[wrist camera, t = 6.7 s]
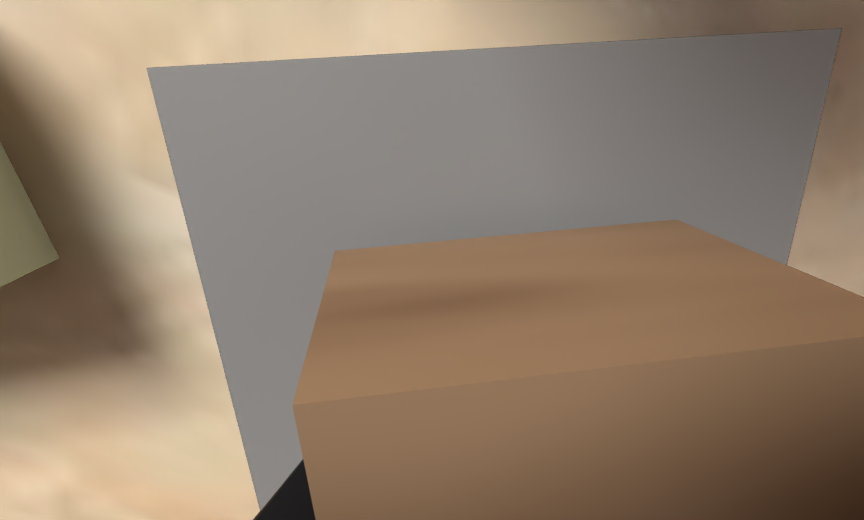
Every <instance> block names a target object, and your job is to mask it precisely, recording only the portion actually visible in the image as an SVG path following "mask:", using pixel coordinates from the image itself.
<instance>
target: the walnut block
mask: <svg viewBox="0 0 864 520" xmlns="http://www.w3.org/2000/svg"><path fill="white" fill-rule="evenodd" d="M292 406H293V411H294V416H295V421H296V426H297V431H298V436H299V441H300V445H301V450H302V455H303V460H304V465H305V470H306V475H307V480H308V485H309V490H310V495H311V500H312V505H313V509H314V514H315V519H316V520H864V297H862V296H859V295H857V294H854V293H852V292H850V291H847V290H845V289H842V288H840V287H838V286H835V285H833V284H830V283H828V282H826V281H823V280H821V279H818V278H816V277H814V276H811V275H809V274H806V273H804V272H802V271H799V270H797V269H794V268H792V267H789V266H787V265H785V264H782V263H780V262H777V261H775V260H773V259H770V258H768V257H765V256H763V255H761V254H758V253H756V252H753V251H751V250H749V249H746V248H744V247H741V246H739V245H737V244H734V243H732V242H729V241H727V240H725V239H722V238H720V237H717V236H715V235H713V234H710V233H708V232H705V231H703V230H701V229H698V228H696V227H693V226H691V225H689V224H686V223H684V222H681V221H679V220H677V219H676V220H665V221H654V222H643V223H633V224H622V225H611V226H600V227H589V228H578V229H567V230H556V231H545V232H534V233H523V234H512V235H501V236H491V237H480V238H469V239H458V240H447V241H436V242H425V243H414V244H403V245H392V246H381V247H370V248H359V249H349V250H338V251H335V252H334V256H333V260H332V263H331V267H330V271H329V274H328V278H327V281H326V285H325V289H324V292H323V296H322V299H321V303H320V307H319V310H318V314H317V318H316V321H315V325H314V328H313V332H312V336H311V339H310V343H309V346H308V350H307V354H306V357H305V361H304V365H303V368H302V372H301V375H300V379H299V383H298V386H297V390H296V393H295V397H294V401H293V404H292Z"/></svg>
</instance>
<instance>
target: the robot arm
mask: <svg viewBox="0 0 864 520" xmlns="http://www.w3.org/2000/svg"><path fill="white" fill-rule="evenodd" d="M253 520H316V519H315V514H314V509H313V505H312V500H311V495H310V490H309V485H308V480H307V475H306V470H305V465H304V460H303V459H302V460H301V462H300V463H299V464H298V465H297V467H296V468H295V469H294V470H293V471H292V473H291V474H290V475H289V476H288V478H287V479H286V480H285V481H284V482H283V484H282V485H281V486H280V487H279V489H278V490H277V491H276V492H275V493H274V495H273V496H272V497H271V498H270V500H269V501H268V502H267V503H266V504H265V506H264V507H263V508H262V509H261V511H260V512H259V513H258V514H257V515H256V517H255V518H254V519H253Z"/></svg>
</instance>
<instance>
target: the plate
mask: <svg viewBox="0 0 864 520" xmlns="http://www.w3.org/2000/svg"><path fill="white" fill-rule="evenodd" d="M841 30H842V28H834V29H817V30H799V31H782V32H764V33H747V34H729V35H712V36H694V37H677V38H660V39H642V40H625V41H607V42H590V43H572V44H555V45H537V46H520V47H502V48H485V49H467V50H450V51H433V52H415V53H398V54H380V55H363V56H345V57H328V58H310V59H293V60H275V61H258V62H240V63H223V64H206V65H188V66H171V67H153V68H147V72H148V76H149V80H150V83H151V87H152V91H153V95H154V99H155V103H156V107H157V111H158V115H159V119H160V122H161V126H162V130H163V134H164V138H165V142H166V146H167V150H168V154H169V157H170V161H171V165H172V169H173V173H174V177H175V181H176V185H177V189H178V192H179V196H180V200H181V204H182V208H183V212H184V216H185V220H186V224H187V228H188V231H189V235H190V239H191V243H192V247H193V251H194V255H195V259H196V263H197V266H198V270H199V274H200V278H201V282H202V286H203V290H204V294H205V298H206V301H207V305H208V309H209V313H210V317H211V321H212V325H213V329H214V333H215V337H216V340H217V344H218V348H219V352H220V356H221V360H222V364H223V368H224V372H225V375H226V379H227V383H228V387H229V391H230V395H231V399H232V403H233V407H234V410H235V414H236V418H237V422H238V426H239V430H240V434H241V438H242V442H243V446H244V449H245V453H246V457H247V461H248V465H249V469H250V473H251V477H252V481H253V484H254V488H255V492H256V496H257V500H258V504H259V508H260V511H261V509H262V508H263V507H264V506H265V504H266V503H267V502H268V501H269V500H270V498H271V497H272V496H273V495H274V493H275V492H276V491H277V490H278V489H279V487H280V486H281V485H282V484H283V482H284V481H285V480H286V479H287V478H288V476H289V475H290V474H291V473H292V471H293V470H294V469H295V468H296V467H297V465H298V464H299V463H300V462H301V460H302V459H303V455H302V450H301V445H300V441H299V436H298V431H297V426H296V421H295V416H294V411H293V406H292V404H293V401H294V397H295V393H296V390H297V386H298V383H299V379H300V375H301V372H302V368H303V365H304V361H305V357H306V354H307V350H308V346H309V343H310V339H311V336H312V332H313V328H314V325H315V321H316V318H317V314H318V310H319V307H320V303H321V299H322V296H323V292H324V289H325V285H326V281H327V278H328V274H329V271H330V267H331V263H332V260H333V256H334V252H335V251H338V250H349V249H359V248H370V247H381V246H392V245H403V244H414V243H425V242H436V241H447V240H458V239H469V238H480V237H491V236H501V235H512V234H523V233H534V232H545V231H556V230H567V229H578V228H589V227H600V226H611V225H622V224H633V223H643V222H654V221H665V220H676V219H677V220H679V221H681V222H684V223H686V224H689V225H691V226H693V227H696V228H698V229H701V230H703V231H705V232H708V233H710V234H713V235H715V236H717V237H720V238H722V239H725V240H727V241H729V242H732V243H734V244H737V245H739V246H741V247H744V248H746V249H749V250H751V251H753V252H756V253H758V254H761V255H763V256H765V257H768V258H770V259H773V260H775V261H777V262H780V263H782V264H785V265H787V261H788V257H789V253H790V249H791V244H792V240H793V236H794V231H795V227H796V223H797V219H798V214H799V210H800V206H801V201H802V197H803V193H804V189H805V184H806V180H807V176H808V171H809V167H810V163H811V159H812V154H813V150H814V146H815V142H816V137H817V133H818V129H819V124H820V120H821V116H822V112H823V107H824V103H825V99H826V94H827V90H828V86H829V82H830V77H831V73H832V69H833V64H834V60H835V56H836V52H837V47H838V43H839V39H840V34H841Z"/></svg>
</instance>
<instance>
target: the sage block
mask: <svg viewBox="0 0 864 520" xmlns="http://www.w3.org/2000/svg"><path fill="white" fill-rule="evenodd" d="M57 259H59V256H58V254H57V252H56V250H55V248H54V246H53V244H52V242H51V240H50V238H49V236H48V234H47V232H46V230H45V228H44V226H43V224H42V222H41V220H40V219H39V217H38V215H37V213H36V211H35V209H34V207H33V205H32V203H31V201H30V199H29V197H28V195H27V193H26V191H25V189H24V187H23V185H22V183H21V181H20V179H19V177H18V175H17V173H16V172H15V170H14V168H13V166H12V164H11V162H10V160H9V158H8V156H7V154H6V152H5V150H4V148H3V146H2V144H1V142H0V287H2V286H4V285H6V284H8V283H10V282H12V281H14V280H16V279H18V278H20V277H22V276H24V275H26V274H28V273H30V272H32V271H34V270H36V269H39V268H41V267H43V266H45V265H47V264H49V263H51V262H53V261H55V260H57Z"/></svg>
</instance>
